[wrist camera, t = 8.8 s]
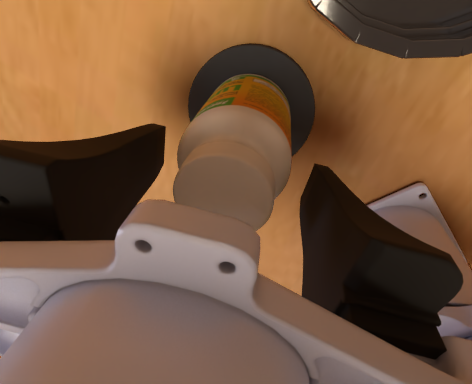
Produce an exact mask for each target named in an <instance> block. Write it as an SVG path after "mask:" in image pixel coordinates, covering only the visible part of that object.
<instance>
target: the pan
mask: <svg viewBox="0 0 472 384" xmlns="http://www.w3.org/2000/svg"><path fill="white" fill-rule="evenodd" d="M307 2H308V4H309V5H310V6H311V8H312V9H313V10H314V11H316V12H317V13H318V14H319V15H320V16H322V17H323V18H324V19H325V20H326V21H327V22H329V23H330V24H331V25H332V26H333V27H335V28H336V29H337V30H338V31H339V32H341V33H342V34H343V35H344V36H346V37H347V38H349V39H350V40H352V41H353V42H355V43H357V44H360V45H363V46H366V47H369V48H372V49H375V50H378V51H381V52H384V53H387V54H390V55H393V56H396V57H399V58H442V57H459V56H464V55H468V54H471V53H472V0H307Z"/></svg>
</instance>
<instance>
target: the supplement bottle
mask: <svg viewBox="0 0 472 384" xmlns="http://www.w3.org/2000/svg"><path fill="white" fill-rule="evenodd" d="M291 151H292V150H291V116H290V107H289V104H288V101H287V98H286V96H285V95H284V93H283V91H282V90H281V89H280V88H279V87H278V86H277V85H276V84H275V83H274V82H272V81H271V80H269V79H267V78H265V77H263V76H260V75H256V74H241V75H237V76H234V77H232V78H229V79H228V80H226V81H225V82H223V83H222V84H221V85H220V86H219V87H218V88H217V89H216V90H215V91H214V93H213V94H212V95H211V97H210V98H209V99H208V101H207V102H206V103H205V104H204V106H203V107H202V108H201V110H200V111H199V112H198V113H197V115H196V116H195V117H194V119H193V120H192V121H191V123H190V124H189V125H188V126H187V128H186V130H185V132H184V133H183V135H182V137H181V140H180V142H179V146H178V152H177V161H178V168H179V171H178V173H177V175H176V178H175V181H174V185H173V195H174V200H175V203H178V204H182V205H186V206H190V207H194V208H198V209H202V210H206V211H210V212H214V213H218V214H222V215H226V216H230V217H234V218H237V219H239V220H241V221H243V222H245V223H247V224H249V225H251V226H252V227H253V229H254V230H255V231H257V230H258V229H260V228H261V227H262V226H263V225H264V224H265V223H266V222H267V220H268V219H269V217H270V215H271V213H272V210H273V205H274V199H275V198H276V197H277V196H278V195H279V194H280V193H281V192H282V190H283V189H284V187H285V185H286V183H287V181H288V178H289V175H290V170H291V161H292V153H291Z"/></svg>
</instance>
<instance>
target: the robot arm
mask: <svg viewBox="0 0 472 384" xmlns="http://www.w3.org/2000/svg"><path fill="white" fill-rule="evenodd" d="M165 129H166V127H165V126H161V125H157V124H147V125H143V126H139V127H136V128H132V129H129V130H125V131H122V132H118V133H113V134H109V135H105V136H101V137H95V138H89V139H82V140H72V141H58V142H23V141H8V140H0V356H2V357H1V359H0V384H472V270H471V269H470V267H469V266H468V264H467V260H466V258H465V256H464V255H463V253H462V251H461V249H460V247H459V245H458V243H457V241H456V240H455V238H454V236H453V234H452V232H451V230H450V228H449V227H448V225H447V223H446V221H445V219H444V217H443V215H442V214H441V212H440V210H439V208H438V206H437V204H436V202H435V201H434V199H433V197H432V195H431V193H430V191H429V189H428V188H427V186H426V185H425V184H424V183H416V184H414V185H412V186H409V187H407V188H405V189H403V190H400V191H398V192H396V193H393V194H391V195H389V196H387V197H384V198H382V199H380V200H378V201H375V202H373V203H371V204H369V205H365V204H364V203H363V202H362V201H361V200H360V199H359V198H358V197H357V196H356V195H355V194H354V193H353V192H352V191H351V190H350V189H349V188H348V187H347V186H346V185H345V184H344V183H343V182H342V181H341V180H340V179H339V177H338V176H337V175H336V174H335V173H334V172H333V171H332V170H331V169H330V168H329V167H327V166H323V165H319V164H314V167H313V169H312V172H311V174H310V177H309V179H308V182H307V184H306V186H305V189H304V191H303V194H302V196H301V201H300V226H301V236H302V246H303V284H302V296H300V295H298V294H296V293H295V292H293V291H291V290H289V289H287V288H285V287H283V286H281V285H280V284H278V283H276V282H274V281H272V280H270V279H268V278H267V277H265V276H263V275H261V274H259V273H258V265H259V256H260V237H259V235H258V234H257V233H256V231H255V230H254V229H253V227H252V226H251V225H249V224H247V223H245V222H243V221H241V220H239V219H237V218H234V217H230V216H226V215H222V214H218V213H214V212H210V211H206V210H202V209H198V208H194V207H190V206H186V205H182V204H178V203H174V202H170V201H166V200H151V199H147V200H145V201H143V202H142V203H140V204H138V205H137V203H138V202H139V201H140V199H141V198H142V197H143V195H144V194H145V193H146V191H147V190H148V189H149V187H150V186H151V185H152V183H153V182H154V181H155V179H156V178H157V176H158V174H159V172H160V170H161V168H162V166H163V164H164V149H165ZM422 193H425V194H424V195H422V196H419V195H420V194H422ZM133 208H134V209H133Z"/></svg>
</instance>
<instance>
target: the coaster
mask: <svg viewBox="0 0 472 384" xmlns="http://www.w3.org/2000/svg"><path fill="white" fill-rule="evenodd" d="M241 74H256V75H260V76H263V77H265V78H267V79H269V80H271V81H272V82H274V83H275V84H276V85H277V86H278V87H279V88H280V89H281V90H282V91H283V93H284V95H285V96H286V98H287V101H288V104H289V107H290V116H291V150H292V151H291V153H292V156H293V155H294V154H295V153H296V152H297V151H298V150H299V149H300V148H301V147H302V146H303V144H304V143H305V141H306V140H307V138H308V136H309V134H310V131H311V129H312V126H313V121H314V115H315V102H314V96H313V91H312V88H311V85H310V83H309V80H308V78H307V76H306V75H305V73H304V72H303V70H302V69H301V67H300V66H299V65H298V64H297V63H296V62H295V61H294V60H293V59H292V58H290V57H289V56H288V55H287V54H285V53H283V52H281V51H280V50H278V49H275V48H273V47H270V46H266V45H261V44H241V45H237V46H232V47H230V48H227V49H225V50H223V51H221V52H219V53H218V54H216V55H215V56H214V57H212V58H211V59H210V60H209V61H208V62H207V63H206V64H205V65H204V66H203V67H202V68H201V70H200V71H199V72H198V74H197V76H196V77H195V79H194V81H193V84H192V87H191V90H190V95H189V103H188V109H189V118H190V122H191V121H192V120H193V119H194V117H195V116H196V115H197V113H198V112H199V111H200V110H201V108H202V107H203V106H204V104H205V103H206V102H207V101H208V99H209V98H210V97H211V95H212V94H213V93H214V91H215V90H216V89H217V88H218V87H219V86H220V85H221V84H222V83H223V82H225V81H226V80H228V79H229V78H232V77H234V76H237V75H241Z"/></svg>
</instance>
